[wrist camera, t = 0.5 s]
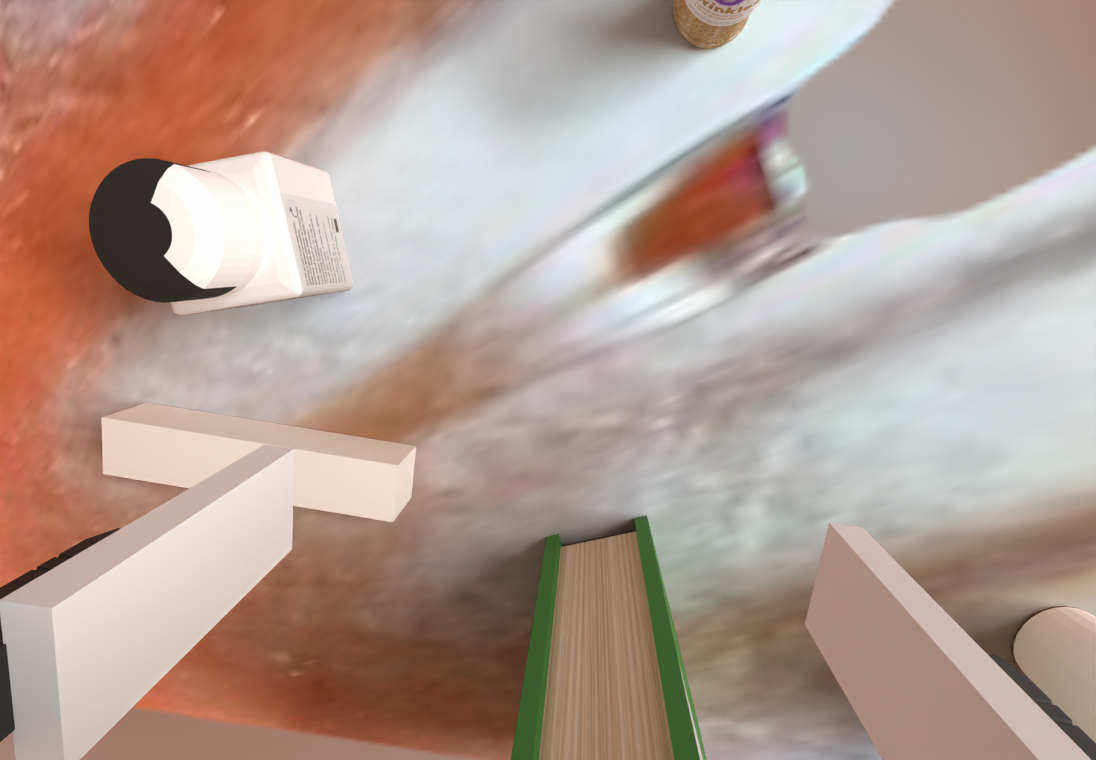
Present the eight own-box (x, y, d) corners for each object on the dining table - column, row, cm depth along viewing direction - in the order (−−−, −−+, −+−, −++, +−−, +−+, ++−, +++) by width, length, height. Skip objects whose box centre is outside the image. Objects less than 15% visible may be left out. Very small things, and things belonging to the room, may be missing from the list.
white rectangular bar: (146, 402, 42) (101, 417, 38) (416, 446, 41) (398, 465, 37) (147, 454, 43) (102, 473, 39) (411, 497, 42) (392, 522, 38)
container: (249, 305, 40) (91, 327, 27) (220, 190, 39) (39, 157, 26) (356, 289, 39) (244, 303, 27) (330, 170, 38) (199, 126, 25)
